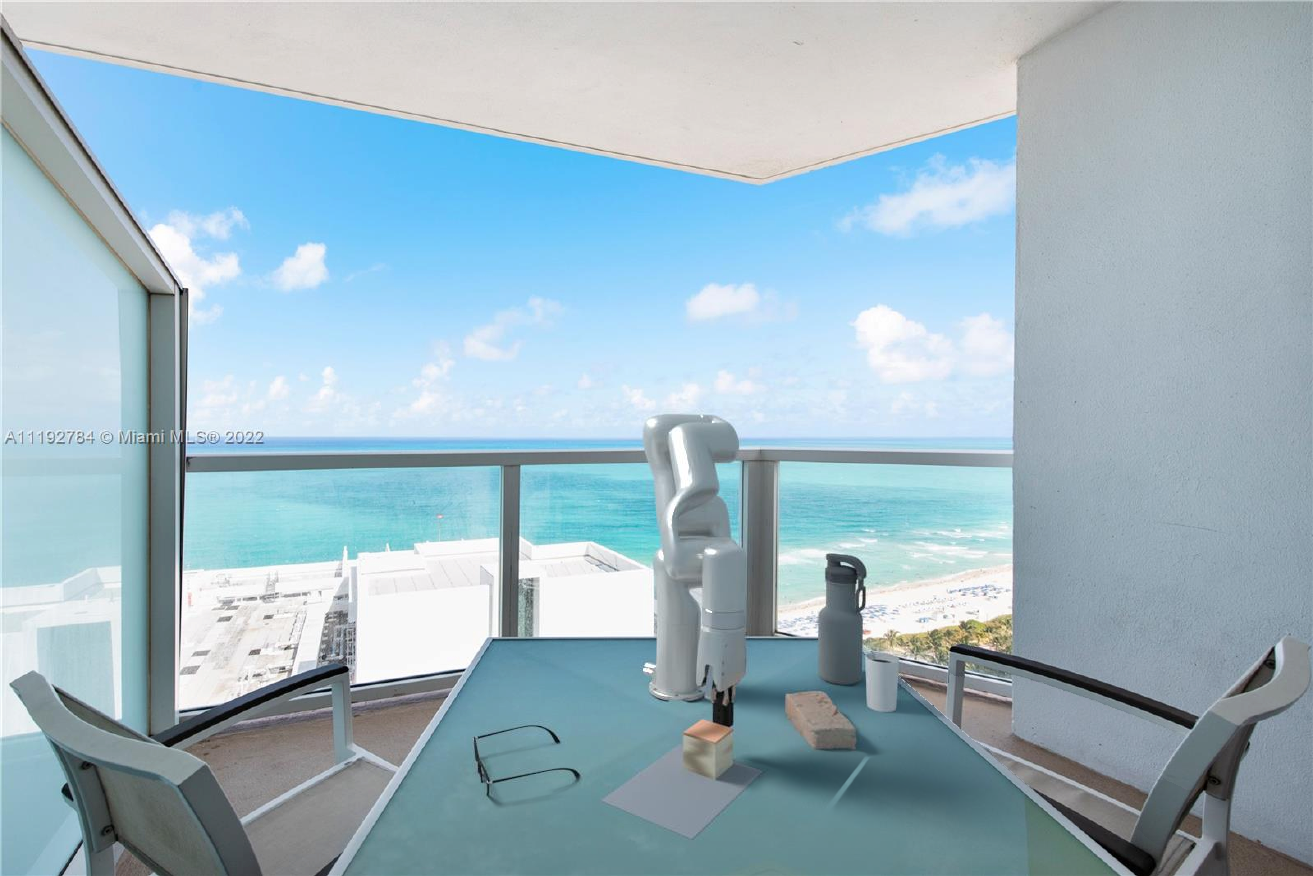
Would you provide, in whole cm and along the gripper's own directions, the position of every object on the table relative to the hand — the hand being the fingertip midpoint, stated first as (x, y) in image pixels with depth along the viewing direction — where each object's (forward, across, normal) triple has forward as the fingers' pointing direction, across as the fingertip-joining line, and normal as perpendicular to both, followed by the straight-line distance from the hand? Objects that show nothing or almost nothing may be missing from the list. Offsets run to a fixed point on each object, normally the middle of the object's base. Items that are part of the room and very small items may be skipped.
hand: (722, 724), depth 112 cm
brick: (+6, -20, +10) cm, 23 cm away
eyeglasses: (+6, +22, -25) cm, 34 cm away
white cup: (+6, -38, +16) cm, 42 cm away
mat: (+6, +12, 0) cm, 13 cm away
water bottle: (+6, -48, +4) cm, 49 cm away
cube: (+5, +5, 0) cm, 7 cm away
